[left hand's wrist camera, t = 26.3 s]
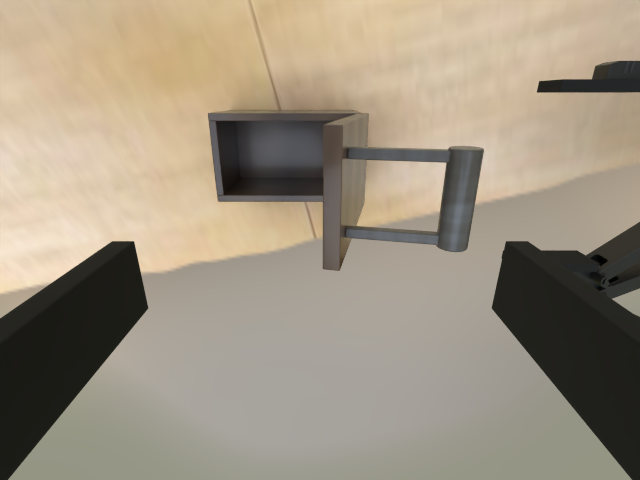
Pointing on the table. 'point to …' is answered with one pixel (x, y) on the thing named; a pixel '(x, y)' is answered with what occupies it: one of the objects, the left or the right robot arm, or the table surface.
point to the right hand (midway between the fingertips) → (527, 181)
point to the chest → (270, 154)
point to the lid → (349, 190)
